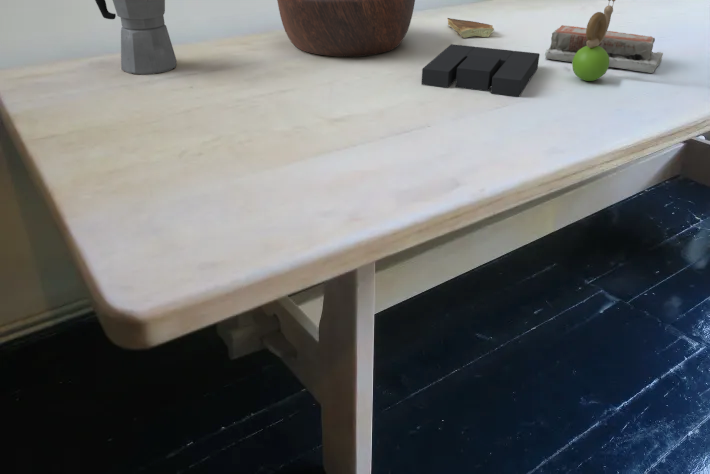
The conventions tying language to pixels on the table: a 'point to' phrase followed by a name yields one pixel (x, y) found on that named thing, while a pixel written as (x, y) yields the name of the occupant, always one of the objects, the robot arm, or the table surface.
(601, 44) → the weathered brick
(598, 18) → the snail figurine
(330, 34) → the wooden bowl
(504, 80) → the base pad
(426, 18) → the table surface
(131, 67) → the coffeepot
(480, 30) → the pie slice
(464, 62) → the pad piece
